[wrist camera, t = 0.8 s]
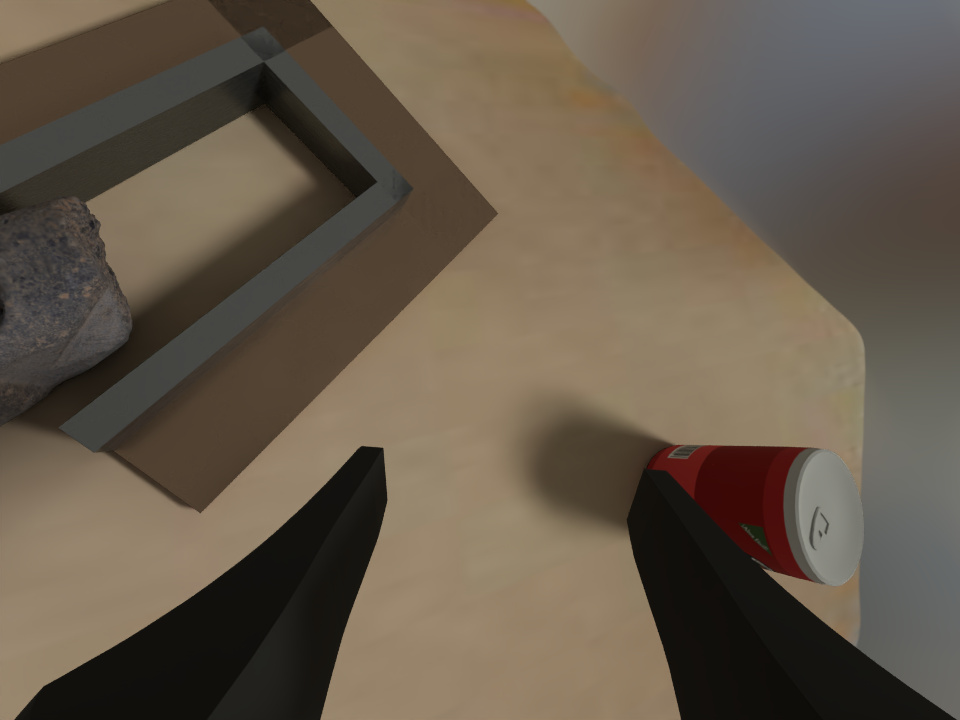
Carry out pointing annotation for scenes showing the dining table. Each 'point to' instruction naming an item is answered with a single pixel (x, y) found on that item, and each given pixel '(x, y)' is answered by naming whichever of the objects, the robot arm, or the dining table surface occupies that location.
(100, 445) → the brown tray
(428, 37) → the dining table surface
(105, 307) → the perforated stone tool
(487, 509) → the dining table surface
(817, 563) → the canned food
